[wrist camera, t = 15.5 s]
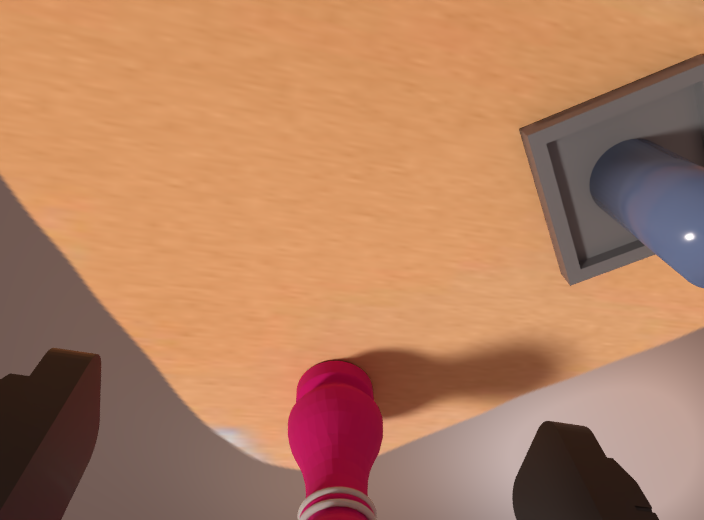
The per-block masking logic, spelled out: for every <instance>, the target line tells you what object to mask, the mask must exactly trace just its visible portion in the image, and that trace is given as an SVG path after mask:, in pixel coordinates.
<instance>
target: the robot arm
mask: <svg viewBox="0 0 704 520" xmlns="http://www.w3.org/2000/svg"><path fill="white" fill-rule="evenodd" d="M100 386H101V358H100V356H99V355H98V354H93V353H86V352H79V351H72V350H65V349H58V348H52V349H50V350H49V351H48V352H47V353H46V354H45V355H44V357H43V358H42V360H41V361H40V362H39V364H38V365H37V367H36V368H35V369H34V371H33V372H32V373H31V375H30V376H23V375H16V374H8V375H7V376H5V377H4V378H2V379H0V520H61V519H62V517H63V515H64V512H65V510H66V508H67V506H68V504H69V502H70V500H71V498H72V496H73V494H74V492H75V490H76V488H77V486H78V483H79V482H80V479H81V477H82V475H83V473H84V471H85V469H86V467H87V465H88V463H89V461H90V459H91V456H92V453H93V450H94V447H95V444H96V440H97V436H98V430H99V421H100V388H101V387H100ZM513 508H514V513H515V516H516V519H517V520H659V519H658V517H657V515H656V514H655V513H652V510H651V509H652V507H651V505H650V504H649V502H648V500H647V499H646V497H645V495H644V494H643V492H642V490H641V489H640V487H639V485H638V484H637V482H636V481H635V480H634V479H633V478H632V477H631V476H630V475H629V474H628V473H627V472H626V471H625V470H624V469H623V468H622V467H621V466H620V465H619V464H618V463H617V462H616V461H615V460H614V459H613V458H607V457H606V455H605V453H604V452H603V450H602V448H601V447H600V445H599V443H598V441H597V440H596V438H595V436H594V434H593V433H592V431H591V430H590V429H589V428H587V427H585V426H579V425H573V424H566V423H559V422H552V421H545V422H543V423H542V424H541V426H540V427H539V429H538V431H537V433H536V435H535V437H534V439H533V441H532V444H531V446H530V448H529V450H528V452H527V455H526V457H525V459H524V461H523V463H522V466H521V468H520V470H519V472H518V474H517V476H516V479H515V482H514V486H513Z"/></svg>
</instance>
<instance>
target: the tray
mask: <svg viewBox="0 0 704 520" xmlns="http://www.w3.org/2000/svg"><path fill="white" fill-rule="evenodd" d="M519 131H520V134H521V137H522V141H523V144H524V148H525V151H526V155H527V158H528V161H529V165H530V168H531V172H532V175H533V179H534V182H535V185H536V189H537V192H538V196H539V199H540V202H541V206H542V209H543V213H544V216H545V220H546V223H547V226H548V230H549V233H550V237H551V240H552V243H553V247H554V250H555V254H556V257H557V261H558V264H559V267H560V271H561V274H562V275H563V277H564V278H565V279H566V281H567V282H568V283H569V285H570V286H571V285H573V284H576V283H579V282H581V281H584V280H587V279H590V278H592V277H595V276H598V275H600V274H603V273H606V272H609V271H611V270H614V269H617V268H620V267H622V266H625V265H628V264H630V263H633V262H636V261H639V260H641V259H644V258H647V257H649V256H652V255H655V253H654V252H653V251H651V250H650V249H649V248H648V247H647V246H645V245H644V244H643V243H642V242H640V241H639V240H638V239H637V238H636V237H634V236H633V235H632V234H631V233H630V232H628V231H627V230H626V229H625V228H624V227H622V226H621V225H620V224H619V223H618V222H616V221H615V220H614V219H613V218H612V217H610V216H609V215H608V214H607V213H605V212H604V211H603V210H602V209H601V208H600V207H598V206H597V205H596V203H595V202H594V200H593V199H592V196H591V193H590V185H589V184H590V177H591V173H592V170H593V168H594V166H595V164H596V162H597V161H598V159H599V158H600V157H601V156H602V155H603V154H604V153H605V152H606V151H607V150H608V149H610V148H611V147H613V146H614V145H616V144H618V143H620V142H623V141H625V140H630V139H645V140H649V141H652V142H654V143H656V144H658V145H660V146H662V147H664V148H666V149H668V150H670V151H672V152H674V153H676V154H678V155H680V156H682V157H684V158H686V159H688V160H690V161H692V162H694V163H696V164H698V165H700V166H702V167H704V55H697V56H695V57H693V58H690V59H688V60H685V61H683V62H680V63H678V64H676V65H673V66H671V67H668V68H666V69H663V70H661V71H659V72H656V73H654V74H651V75H649V76H646V77H644V78H642V79H639V80H637V81H634V82H632V83H629V84H627V85H625V86H622V87H620V88H617V89H615V90H612V91H610V92H608V93H605V94H603V95H600V96H598V97H595V98H593V99H591V100H588V101H586V102H583V103H581V104H578V105H576V106H574V107H571V108H569V109H566V110H564V111H562V112H559V113H557V114H554V115H552V116H549V117H547V118H545V119H542V120H540V121H537V122H535V123H532V124H530V125H528V126H525V127H523V128H520V129H519Z"/></svg>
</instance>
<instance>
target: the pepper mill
mask: <svg viewBox="0 0 704 520" xmlns="http://www.w3.org/2000/svg"><path fill="white" fill-rule="evenodd" d="M288 438H289V444H290V447H291V451H292V454H293V456H294V458H295V460H296V462H297V464H298V466H299V467H300V469H301V471H302V473H303V477H304V481H305V485H306V499H305V500H304V501H303V502H302V504H301V506H300V508H299V511H298V520H376V508H375V506H374V504H373V502H372V501H371V499H370V498H369V497H368V495H367V489H368V488H367V487H368V477H369V473H370V470H371V467H372V465H373V463H374V461H375V459H376V457H377V455H378V453H379V450H380V446H381V442H382V438H383V420H382V415H381V412H380V410H379V408H378V406H377V404H376V403H375V402H374V397H373V388H372V383H371V381H370V379H369V377H368V376H367V374H366V373H365V372H364V371H363V370H362V369H360V368H359V367H357V366H355V365H353V364H351V363H348V362H344V361H327V362H323V363H319V364H317V365H315V366H313V367H312V368H310V369H309V370H308V371H306V372H305V373H304V375H303V376H302V377H301V379H300V380H299V383H298V386H297V396H296V404H295V405H294V407H293V408H292V410H291V413H290V416H289V420H288Z"/></svg>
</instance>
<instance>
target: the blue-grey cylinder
mask: <svg viewBox="0 0 704 520" xmlns="http://www.w3.org/2000/svg"><path fill="white" fill-rule="evenodd" d="M589 185H590V193H591V196H592V199H593V200H594V202H595V203H596V205H597V206H598V207H600V208H601V209H602V210H603V211H604V212H605V213H607V214H608V215H609V216H610V217H612V218H613V219H614V220H615V221H616V222H618V223H619V224H620V225H621V226H622V227H624V228H625V229H626V230H627V231H628V232H630V233H631V234H632V235H633V236H634V237H636V238H637V239H638V240H639V241H640V242H642V243H643V244H644V245H645V246H647V247H648V248H649V249H650V250H651V251H653V252H654V253H655V254H656V255H657V256H659V257H660V258H661V259H662V260H663V261H665V262H666V263H667V264H668V265H669V266H671V267H672V268H673V269H674V270H676V271H677V272H678V273H679V274H680V275H682V276H683V277H684V278H685V279H686V280H688V281H689V282H690V283H692V284H693V285H696V286H698V287H701V288H704V167H702V166H700V165H698V164H696V163H694V162H692V161H690V160H688V159H686V158H684V157H682V156H680V155H678V154H676V153H674V152H672V151H670V150H668V149H666V148H664V147H662V146H660V145H658V144H656V143H654V142H652V141H649V140H645V139H630V140H625V141H623V142H620V143H618V144H616V145H614V146H613V147H611V148H610V149H608V150H607V151H606V152H605V153H604V154H603V155H602V156H601V157H600V158H599V159H598V161H597V162H596V164H595V166H594V168H593V170H592V173H591V177H590V184H589Z"/></svg>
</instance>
